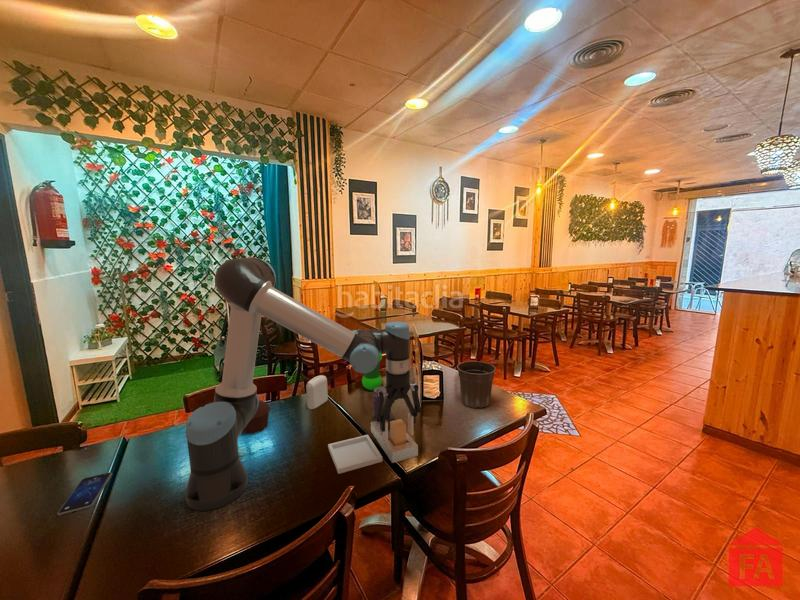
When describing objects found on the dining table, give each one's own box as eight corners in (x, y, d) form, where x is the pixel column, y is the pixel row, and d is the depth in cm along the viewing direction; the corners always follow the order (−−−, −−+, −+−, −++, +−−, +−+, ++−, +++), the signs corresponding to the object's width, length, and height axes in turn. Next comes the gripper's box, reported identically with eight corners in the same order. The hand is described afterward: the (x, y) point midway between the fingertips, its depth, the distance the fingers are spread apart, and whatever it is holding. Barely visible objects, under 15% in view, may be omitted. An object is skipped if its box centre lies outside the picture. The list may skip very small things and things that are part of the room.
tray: (338, 475, 98) (338, 469, 98) (328, 449, 110) (328, 444, 110) (382, 462, 103) (382, 456, 103) (368, 439, 116) (367, 434, 116)
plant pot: (449, 403, 143) (450, 368, 141) (466, 391, 156) (467, 358, 153) (485, 415, 133) (486, 376, 131) (499, 400, 146) (501, 365, 143)
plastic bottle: (374, 382, 167) (373, 334, 163) (386, 388, 159) (386, 338, 155) (357, 387, 160) (356, 337, 157) (369, 394, 152) (368, 342, 149)
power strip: (392, 464, 103) (392, 433, 101) (370, 432, 121) (370, 405, 119) (417, 456, 106) (418, 426, 105) (393, 427, 124) (393, 401, 123)
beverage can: (392, 414, 134) (391, 386, 132) (389, 423, 127) (389, 393, 125) (374, 413, 135) (374, 385, 133) (371, 422, 128) (371, 393, 126)
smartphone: (54, 515, 83) (81, 478, 96) (55, 518, 83) (82, 481, 97) (92, 505, 86) (113, 470, 99) (92, 508, 86) (114, 473, 100)
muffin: (231, 431, 122) (229, 406, 120) (253, 417, 132) (251, 394, 131) (257, 437, 118) (255, 411, 116) (278, 422, 128) (276, 398, 127)
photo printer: (313, 410, 138) (312, 382, 136) (305, 408, 140) (304, 380, 138) (329, 400, 147) (328, 374, 145) (321, 398, 149) (320, 372, 147)
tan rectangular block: (395, 456, 107) (394, 427, 105) (390, 449, 110) (390, 421, 109) (406, 453, 108) (406, 424, 107) (401, 446, 112) (401, 419, 111)
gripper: (370, 380, 98) (371, 450, 101) (432, 369, 106) (431, 434, 110) (362, 371, 104) (363, 438, 108) (421, 362, 113) (421, 423, 116)
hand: (398, 436), depth 109 cm, fingers open, 8 cm apart
